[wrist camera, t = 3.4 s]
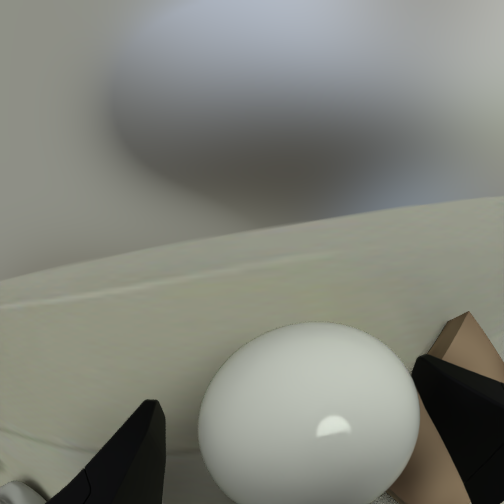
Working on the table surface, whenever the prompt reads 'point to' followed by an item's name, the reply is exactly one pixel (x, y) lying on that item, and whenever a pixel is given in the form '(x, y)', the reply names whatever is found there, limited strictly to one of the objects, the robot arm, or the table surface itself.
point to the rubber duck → (19, 494)
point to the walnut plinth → (429, 441)
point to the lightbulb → (309, 417)
